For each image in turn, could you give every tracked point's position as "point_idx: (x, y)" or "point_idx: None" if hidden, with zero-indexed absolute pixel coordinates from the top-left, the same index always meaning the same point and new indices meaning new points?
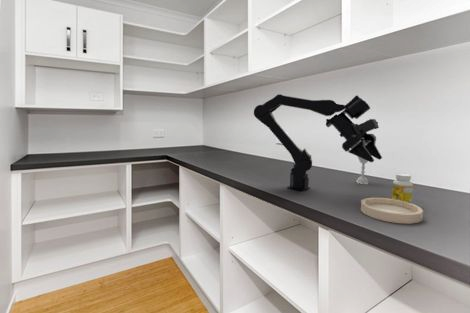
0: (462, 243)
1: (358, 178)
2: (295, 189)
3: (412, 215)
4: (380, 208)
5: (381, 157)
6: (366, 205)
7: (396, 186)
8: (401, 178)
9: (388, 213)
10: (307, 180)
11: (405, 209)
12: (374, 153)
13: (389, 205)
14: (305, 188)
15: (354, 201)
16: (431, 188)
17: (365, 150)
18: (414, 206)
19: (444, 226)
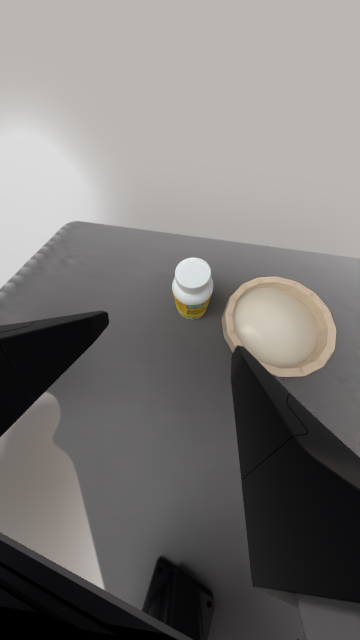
0: (333, 256)
1: None
2: (208, 628)
3: (311, 292)
4: (269, 338)
5: (105, 312)
6: (316, 364)
7: (208, 300)
8: (209, 281)
9: (333, 325)
10: (181, 627)
11: (246, 300)
12: (72, 343)
13: (236, 323)
14: (192, 581)
15: (228, 390)
16: (54, 255)
17: (309, 417)
18: (254, 285)
19: (279, 264)
